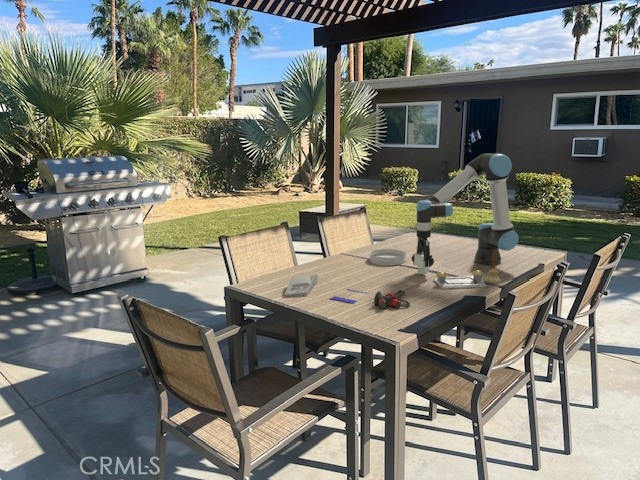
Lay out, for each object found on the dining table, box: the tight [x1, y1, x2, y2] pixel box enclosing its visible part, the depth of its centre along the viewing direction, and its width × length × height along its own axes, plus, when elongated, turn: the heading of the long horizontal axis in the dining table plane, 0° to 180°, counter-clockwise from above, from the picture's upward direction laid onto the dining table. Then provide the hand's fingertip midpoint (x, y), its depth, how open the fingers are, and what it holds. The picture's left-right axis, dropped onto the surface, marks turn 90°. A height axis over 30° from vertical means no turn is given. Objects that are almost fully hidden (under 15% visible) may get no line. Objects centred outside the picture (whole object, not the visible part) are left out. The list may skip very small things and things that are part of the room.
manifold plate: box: [433, 269, 487, 290], centre depth 245 cm, size 23×14×7 cm, turn 94°
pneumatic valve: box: [411, 252, 435, 276], centre depth 261 cm, size 6×12×12 cm, turn 41°
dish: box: [369, 248, 407, 266], centre depth 293 cm, size 22×22×5 cm
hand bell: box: [483, 251, 502, 284], centre depth 248 cm, size 8×8×16 cm
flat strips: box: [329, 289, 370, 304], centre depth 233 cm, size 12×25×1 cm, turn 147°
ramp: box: [284, 273, 318, 297], centre depth 241 cm, size 28×16×5 cm, turn 148°
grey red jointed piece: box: [373, 289, 411, 309], centre depth 220 cm, size 6×26×15 cm
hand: (423, 269), depth 261 cm, fingers closed on pneumatic valve, 10 cm apart
